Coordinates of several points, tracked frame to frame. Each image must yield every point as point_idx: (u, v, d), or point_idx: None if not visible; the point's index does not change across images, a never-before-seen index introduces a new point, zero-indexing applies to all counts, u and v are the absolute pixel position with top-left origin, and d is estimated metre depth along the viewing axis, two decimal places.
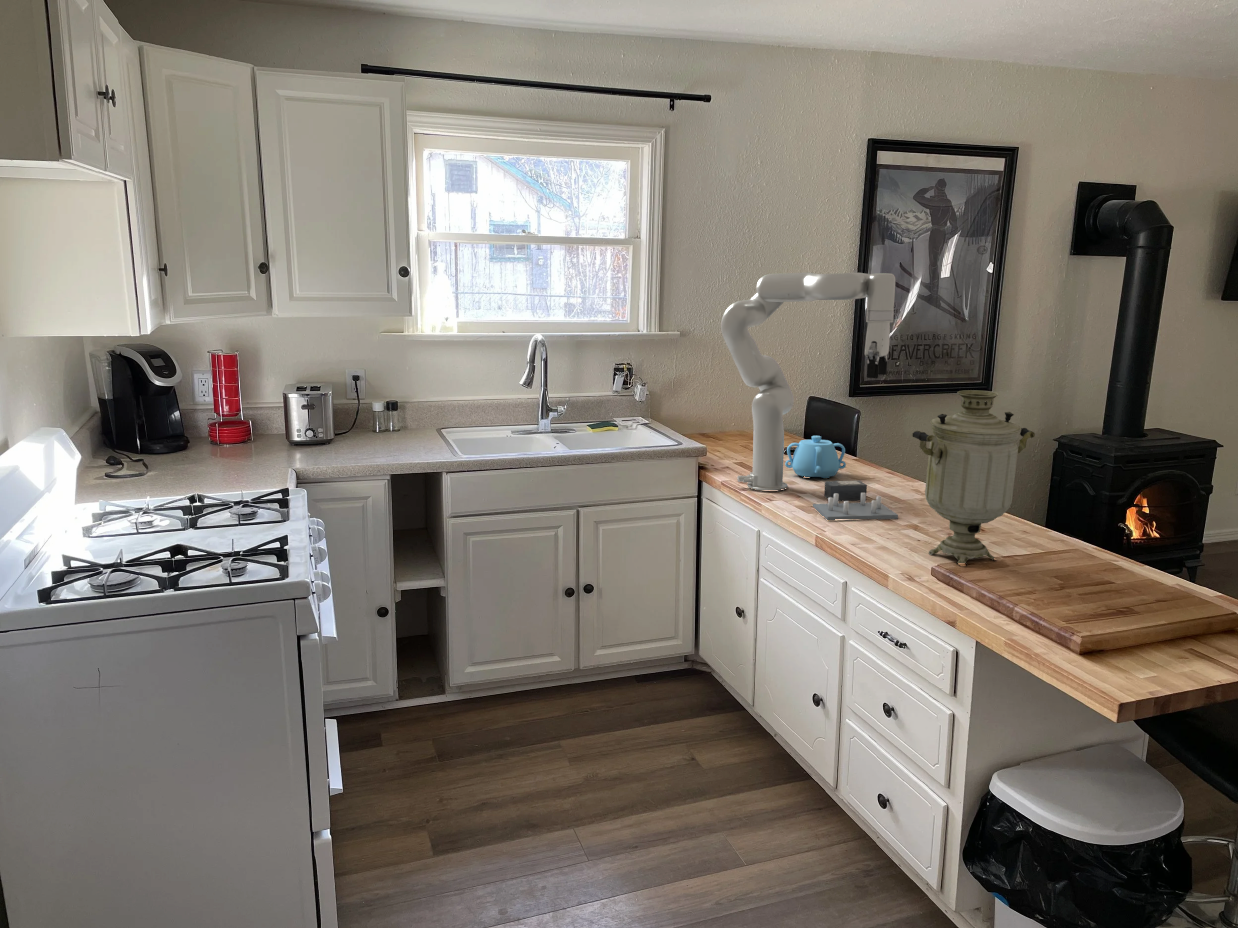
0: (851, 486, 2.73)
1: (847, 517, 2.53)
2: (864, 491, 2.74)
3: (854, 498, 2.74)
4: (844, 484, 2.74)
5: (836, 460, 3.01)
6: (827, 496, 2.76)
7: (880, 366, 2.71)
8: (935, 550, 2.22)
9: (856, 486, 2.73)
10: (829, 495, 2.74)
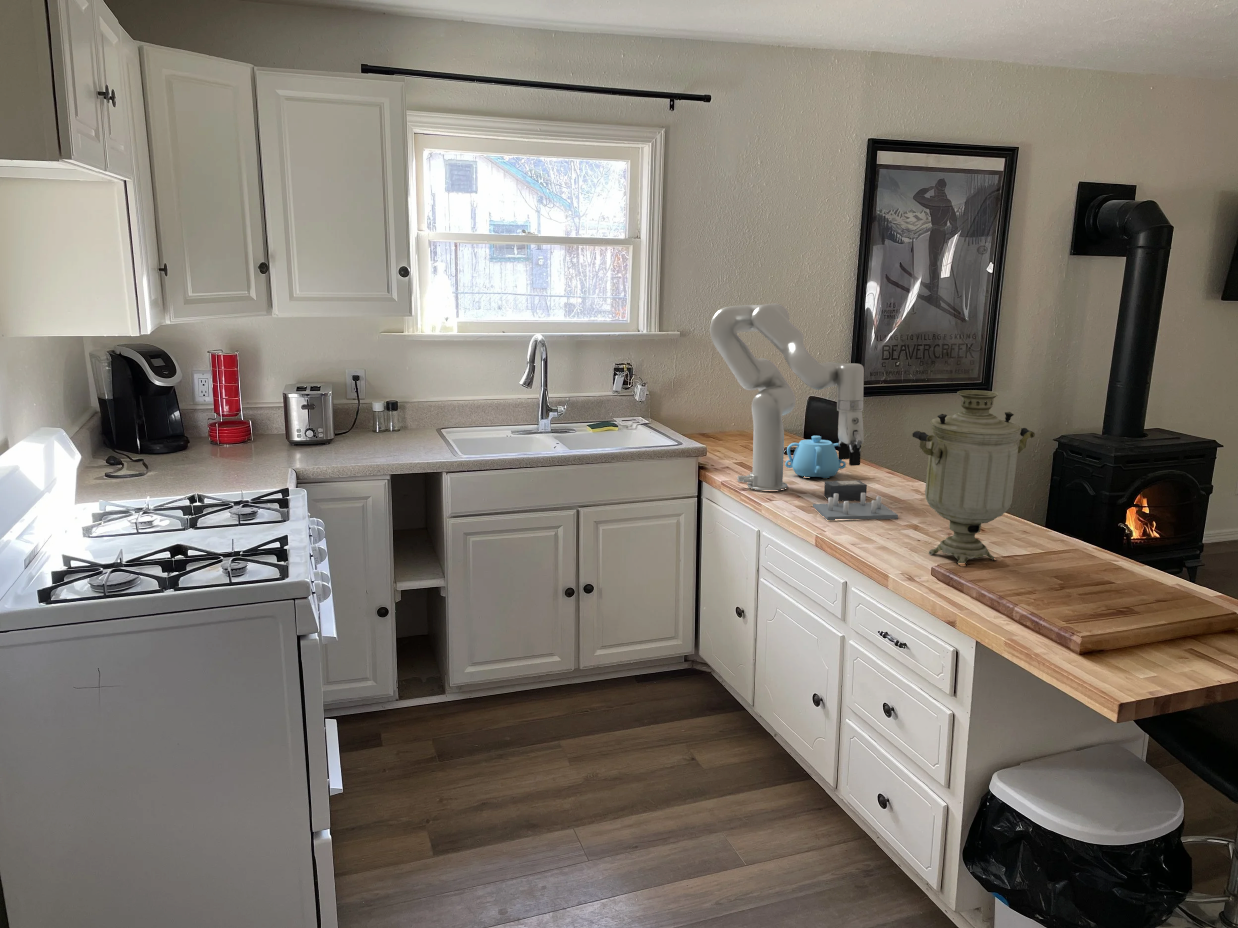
0: (851, 486, 2.73)
1: (847, 517, 2.53)
2: (864, 491, 2.74)
3: (854, 498, 2.74)
4: (844, 484, 2.74)
5: (836, 460, 3.01)
6: (827, 496, 2.76)
7: None
8: (935, 550, 2.22)
9: (856, 486, 2.73)
10: (829, 495, 2.74)
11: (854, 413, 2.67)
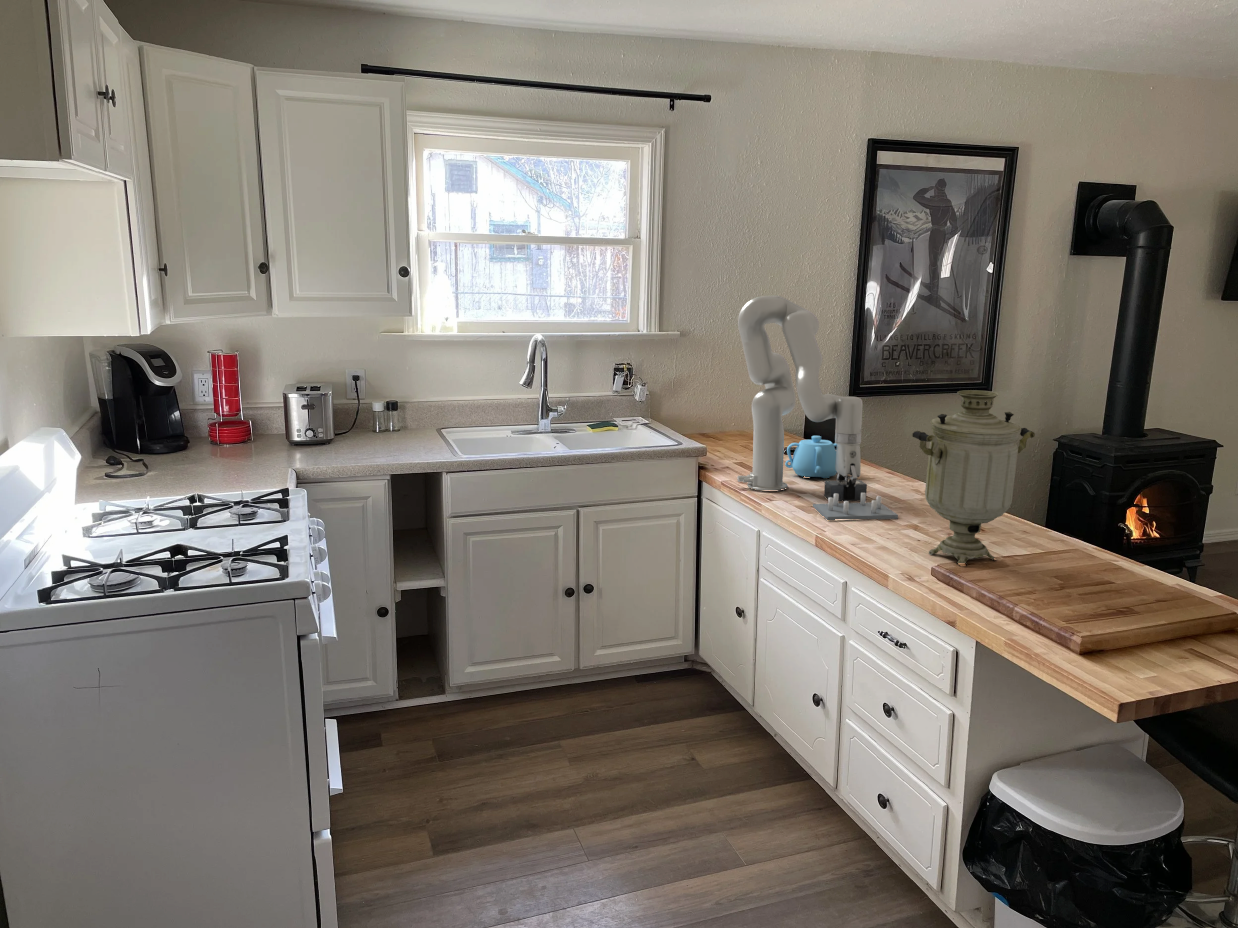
0: None
1: (847, 517, 2.53)
2: (864, 490, 2.74)
3: None
4: (844, 483, 2.74)
5: None
6: (827, 495, 2.76)
7: None
8: (935, 550, 2.22)
9: (856, 485, 2.73)
10: (829, 494, 2.74)
11: (852, 446, 2.69)
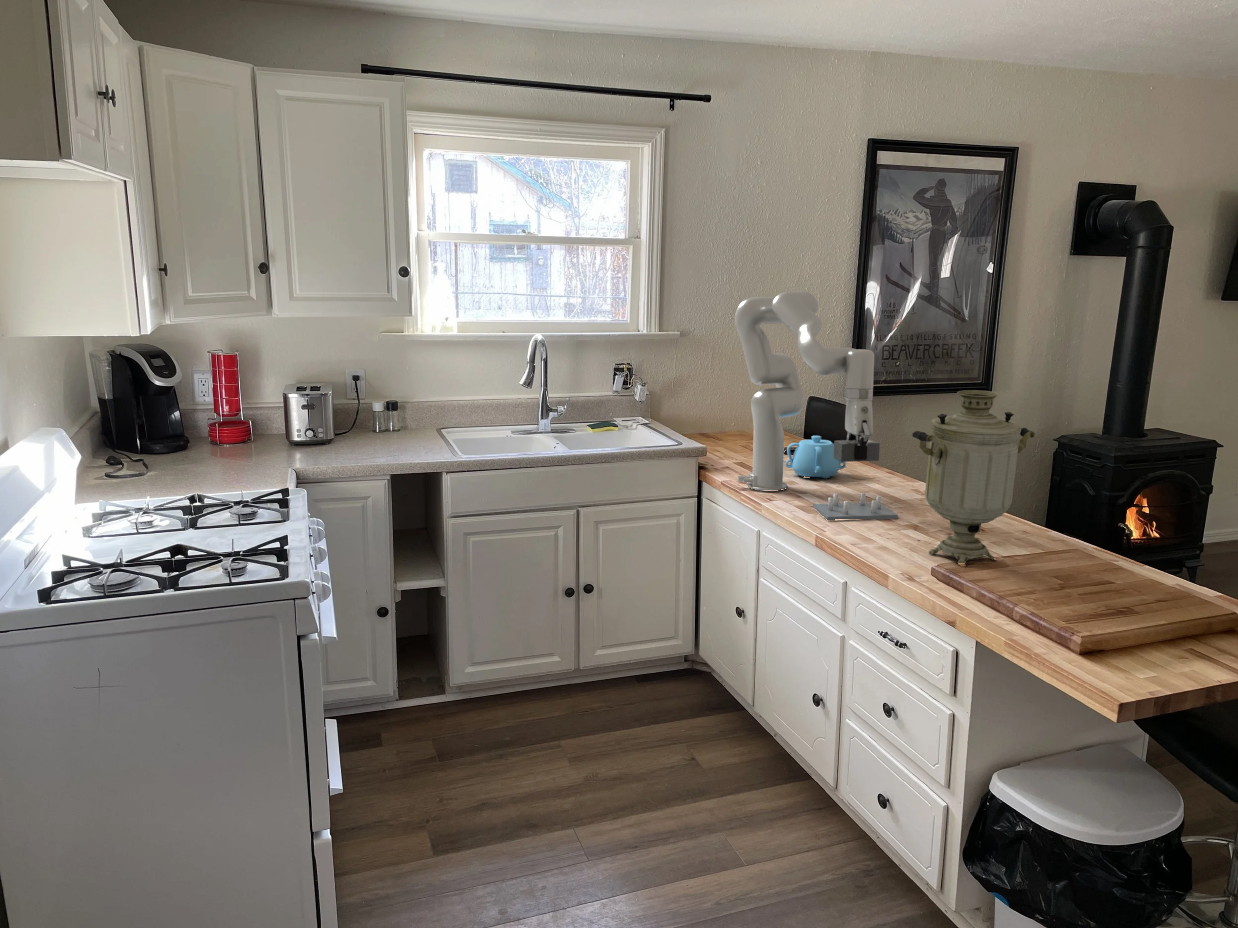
0: None
1: (847, 517, 2.53)
2: (877, 450, 2.56)
3: None
4: (855, 442, 2.56)
5: (836, 460, 3.01)
6: (837, 456, 2.58)
7: None
8: (935, 550, 2.22)
9: (868, 444, 2.56)
10: (840, 454, 2.56)
11: (863, 402, 2.51)
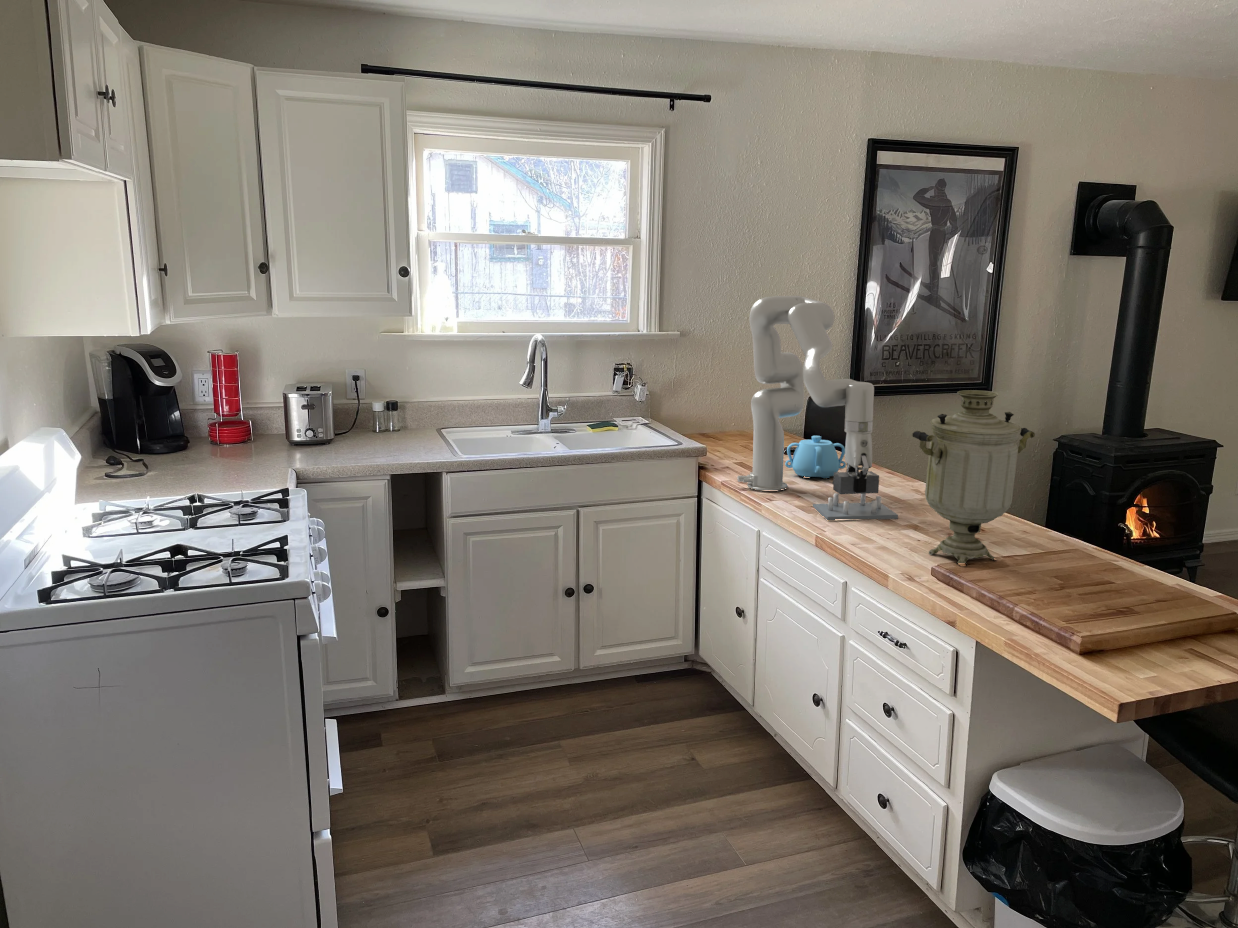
0: None
1: (847, 517, 2.53)
2: (876, 482, 2.56)
3: None
4: (855, 475, 2.56)
5: (836, 460, 3.01)
6: (836, 488, 2.58)
7: None
8: (935, 550, 2.22)
9: (868, 477, 2.55)
10: (839, 487, 2.56)
11: (863, 435, 2.51)
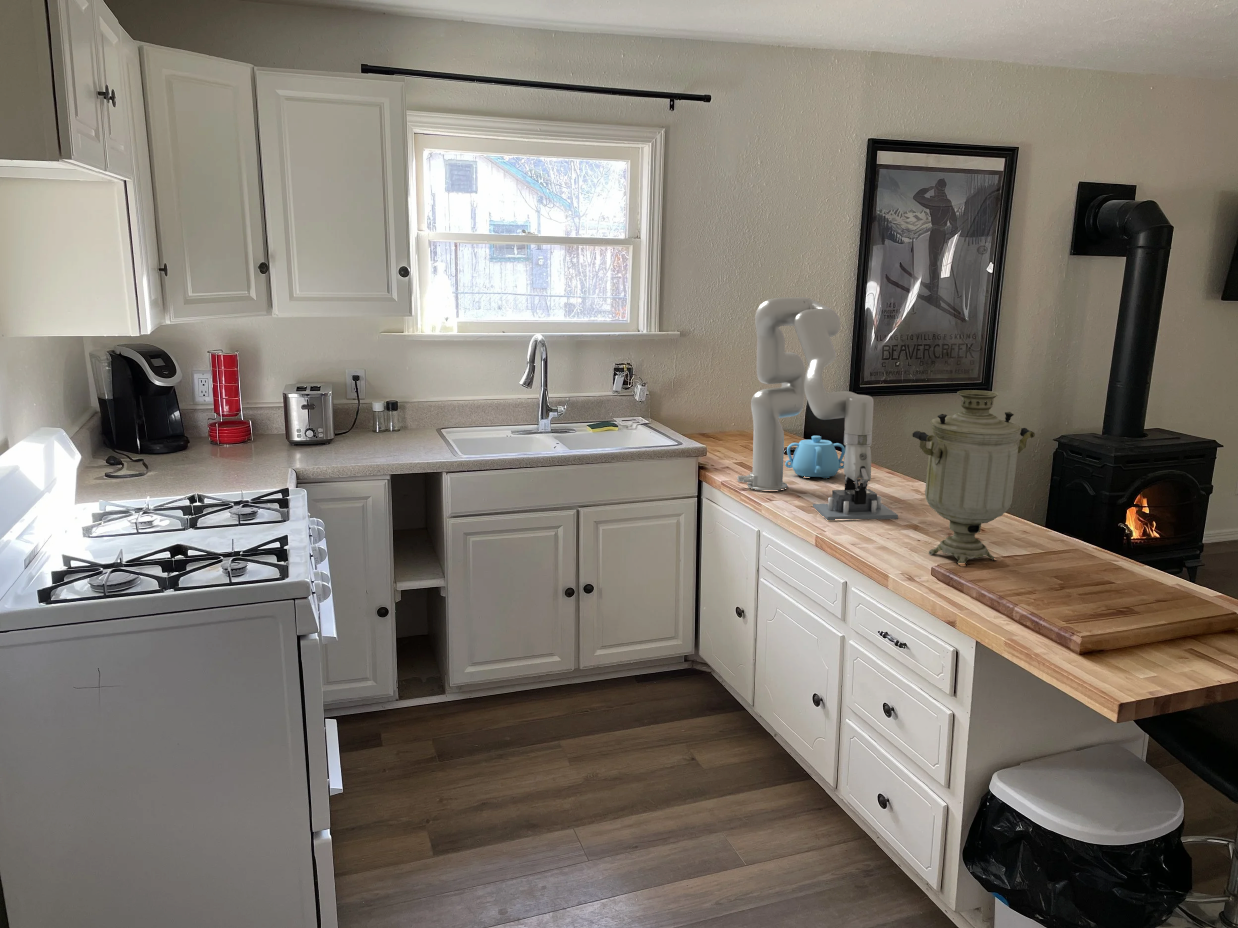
0: None
1: (847, 517, 2.53)
2: None
3: (863, 508, 2.57)
4: (853, 493, 2.57)
5: (836, 460, 3.01)
6: (835, 506, 2.59)
7: None
8: (935, 550, 2.22)
9: (866, 495, 2.56)
10: (837, 505, 2.57)
11: (862, 448, 2.52)
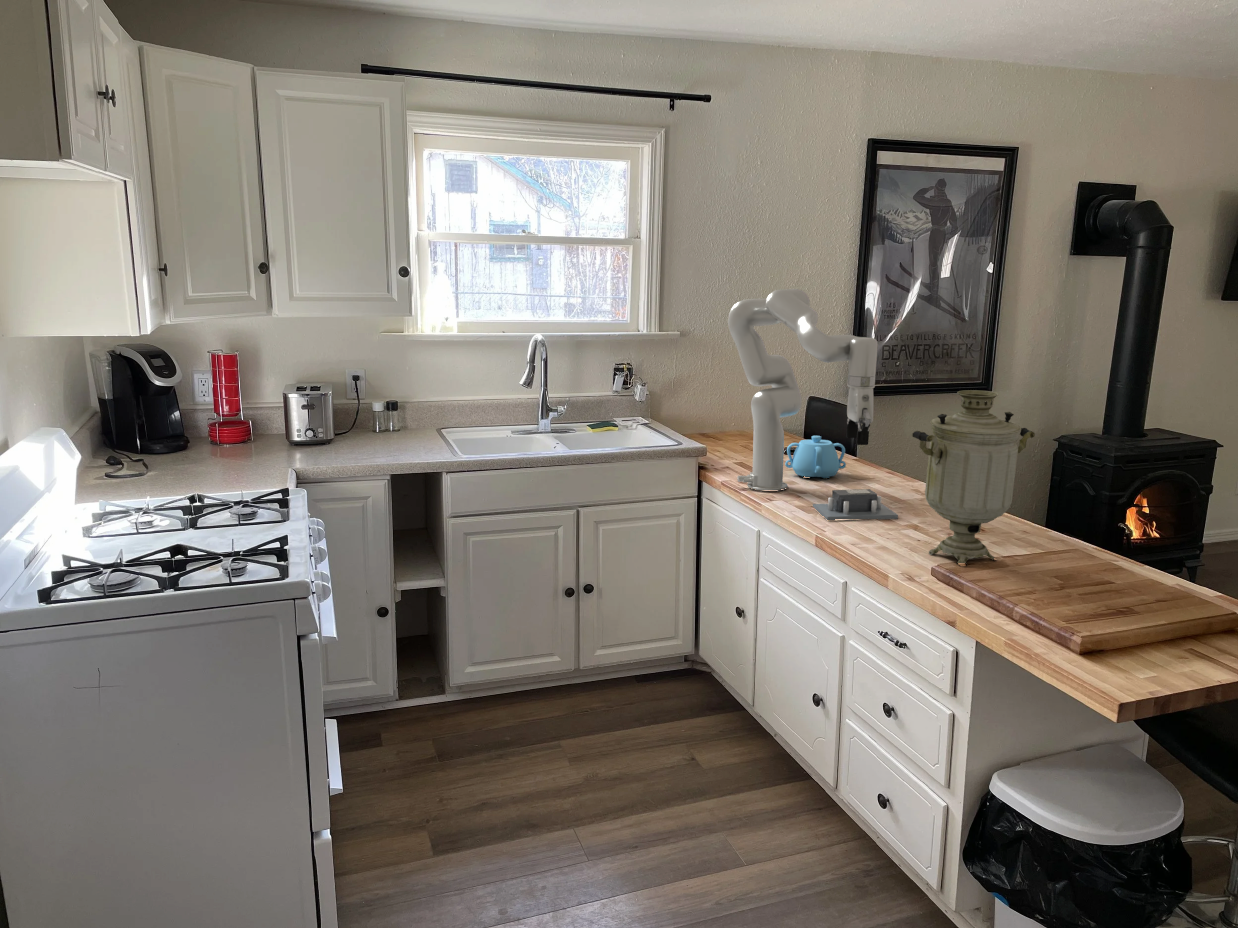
0: (860, 495, 2.56)
1: (847, 517, 2.53)
2: None
3: (863, 508, 2.57)
4: (853, 493, 2.57)
5: (836, 460, 3.01)
6: (835, 506, 2.59)
7: None
8: (935, 550, 2.22)
9: (866, 495, 2.56)
10: (837, 505, 2.57)
11: (865, 390, 2.54)
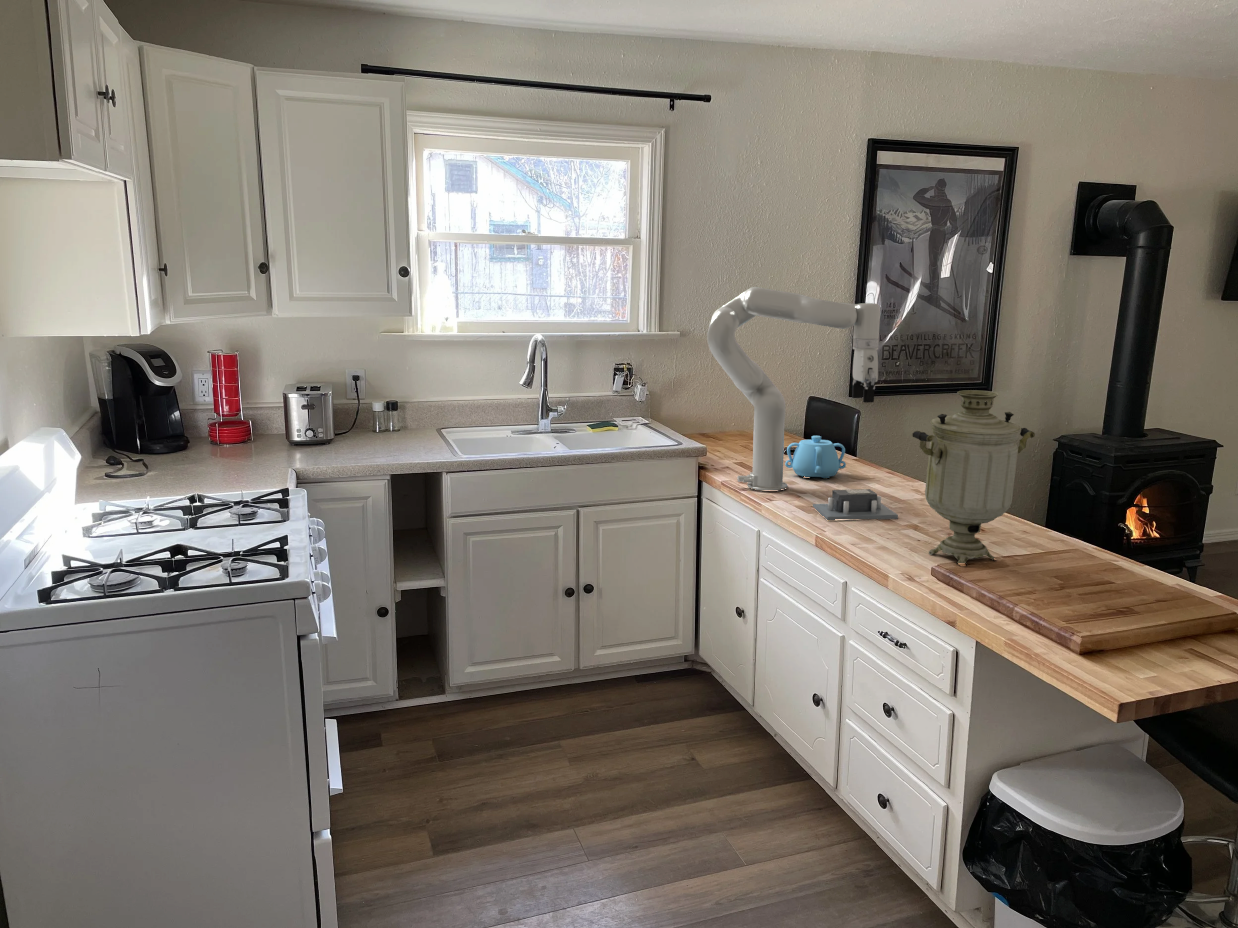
0: (860, 495, 2.56)
1: (847, 517, 2.53)
2: None
3: (863, 508, 2.57)
4: (853, 493, 2.57)
5: (836, 460, 3.01)
6: (835, 506, 2.59)
7: None
8: (935, 550, 2.22)
9: (866, 495, 2.56)
10: (837, 505, 2.57)
11: (869, 351, 2.75)
